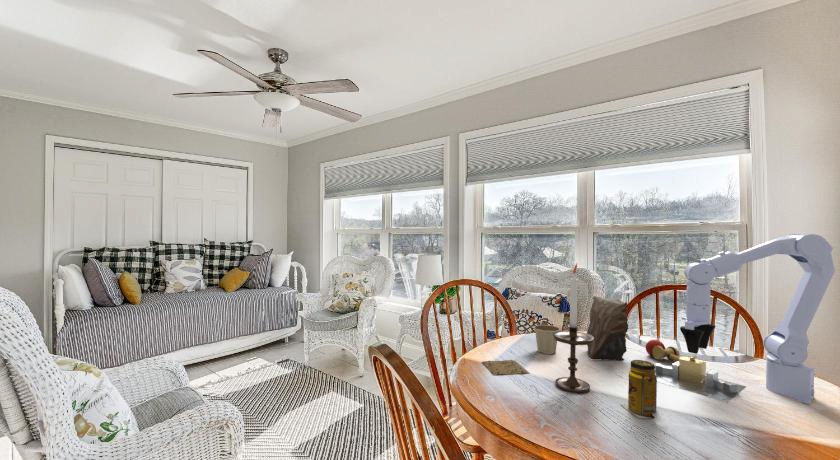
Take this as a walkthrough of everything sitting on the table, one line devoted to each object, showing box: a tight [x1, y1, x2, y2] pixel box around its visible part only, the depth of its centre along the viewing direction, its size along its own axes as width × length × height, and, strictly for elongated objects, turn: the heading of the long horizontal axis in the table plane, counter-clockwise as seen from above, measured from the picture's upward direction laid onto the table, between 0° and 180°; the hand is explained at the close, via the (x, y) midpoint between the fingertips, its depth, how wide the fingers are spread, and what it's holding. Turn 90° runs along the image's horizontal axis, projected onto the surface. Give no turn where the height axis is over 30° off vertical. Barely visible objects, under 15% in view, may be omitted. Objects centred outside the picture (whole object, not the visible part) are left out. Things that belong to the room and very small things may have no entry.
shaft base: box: [654, 361, 747, 403], centre depth 113 cm, size 21×17×4 cm
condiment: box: [621, 359, 658, 420], centre depth 96 cm, size 7×8×12 cm
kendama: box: [645, 339, 682, 363], centre depth 131 cm, size 8×6×18 cm
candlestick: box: [553, 263, 594, 394], centre depth 110 cm, size 11×11×35 cm
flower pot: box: [532, 324, 562, 355], centre depth 141 cm, size 9×9×9 cm
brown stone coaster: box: [481, 359, 530, 376], centre depth 125 cm, size 12×12×1 cm
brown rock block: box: [586, 295, 629, 361], centre depth 138 cm, size 13×13×20 cm
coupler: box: [679, 356, 707, 384], centre depth 115 cm, size 6×4×6 cm, turn 37°
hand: (697, 350), depth 115 cm, fingers open, 7 cm apart
